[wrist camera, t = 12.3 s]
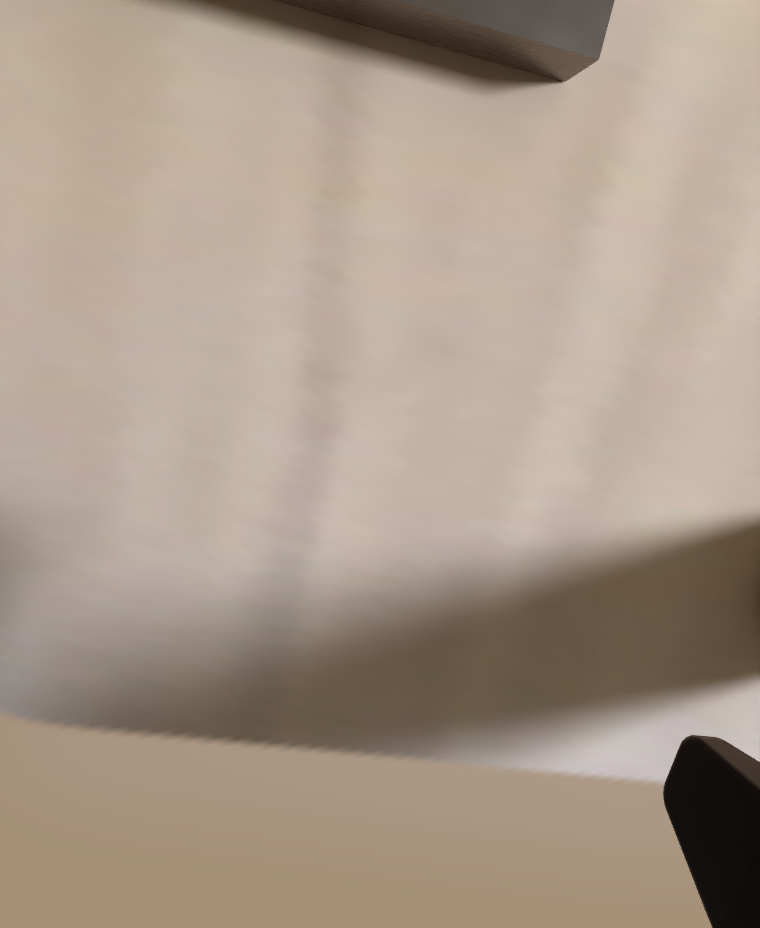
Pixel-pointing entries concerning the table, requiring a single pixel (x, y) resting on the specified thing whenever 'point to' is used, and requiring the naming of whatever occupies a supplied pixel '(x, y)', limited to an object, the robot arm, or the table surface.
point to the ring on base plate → (491, 28)
